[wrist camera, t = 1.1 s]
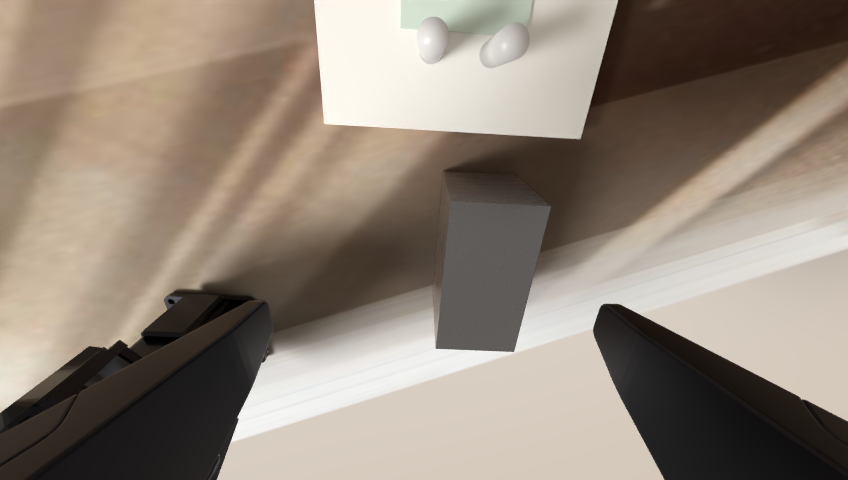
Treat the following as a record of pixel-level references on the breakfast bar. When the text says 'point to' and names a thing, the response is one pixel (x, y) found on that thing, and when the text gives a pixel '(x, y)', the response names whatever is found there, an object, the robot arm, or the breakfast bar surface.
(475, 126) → the pin tray
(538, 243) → the block
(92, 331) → the breakfast bar surface
